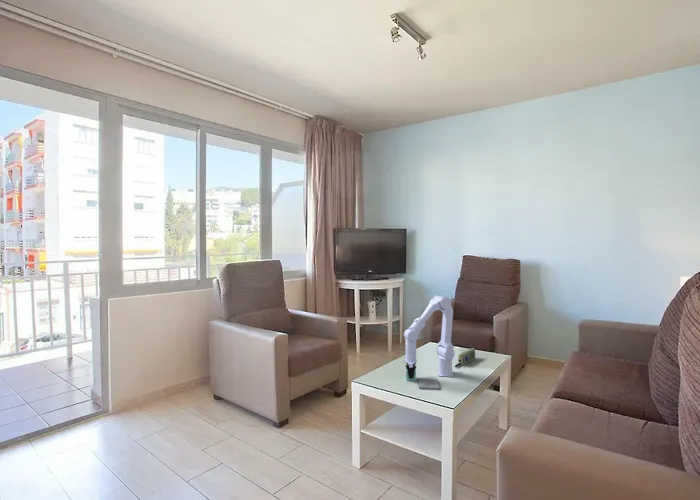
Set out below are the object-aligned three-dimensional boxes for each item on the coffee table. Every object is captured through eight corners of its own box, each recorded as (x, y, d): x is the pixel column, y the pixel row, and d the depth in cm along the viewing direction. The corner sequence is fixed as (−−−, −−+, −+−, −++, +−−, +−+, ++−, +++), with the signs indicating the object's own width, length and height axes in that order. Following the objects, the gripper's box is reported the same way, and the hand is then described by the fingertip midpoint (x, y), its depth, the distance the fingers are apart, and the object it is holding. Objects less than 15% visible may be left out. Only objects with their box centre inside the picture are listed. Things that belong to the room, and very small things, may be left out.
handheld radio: (476, 358, 237) (458, 369, 218) (471, 358, 239) (453, 368, 220) (475, 348, 237) (458, 357, 218) (470, 347, 239) (452, 356, 220)
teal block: (406, 377, 205) (406, 368, 205) (415, 377, 204) (415, 368, 204) (406, 380, 200) (406, 371, 200) (415, 381, 199) (415, 371, 199)
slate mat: (418, 380, 201) (418, 378, 201) (437, 381, 199) (437, 379, 199) (419, 388, 189) (419, 386, 189) (439, 389, 187) (439, 387, 187)
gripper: (403, 347, 210) (403, 371, 210) (403, 355, 195) (403, 381, 196) (416, 348, 209) (416, 372, 209) (416, 355, 194) (417, 381, 194)
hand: (411, 376), depth 202 cm, fingers closed on teal block, 5 cm apart
